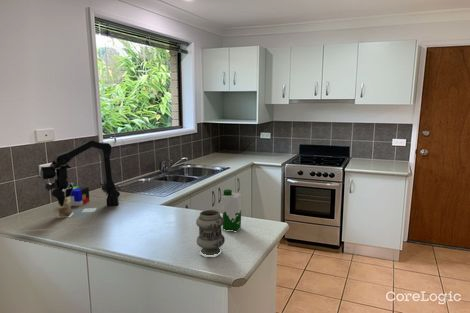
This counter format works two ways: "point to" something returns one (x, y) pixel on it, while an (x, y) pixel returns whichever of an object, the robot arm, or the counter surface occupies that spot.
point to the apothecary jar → (210, 231)
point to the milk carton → (231, 210)
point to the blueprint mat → (80, 212)
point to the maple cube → (65, 203)
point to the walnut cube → (65, 212)
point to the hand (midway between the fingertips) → (64, 203)
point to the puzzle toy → (79, 196)
